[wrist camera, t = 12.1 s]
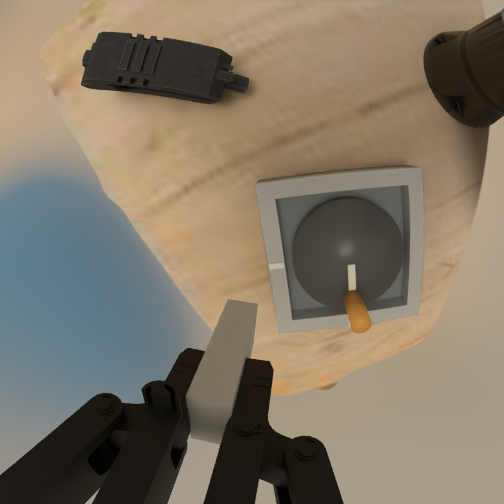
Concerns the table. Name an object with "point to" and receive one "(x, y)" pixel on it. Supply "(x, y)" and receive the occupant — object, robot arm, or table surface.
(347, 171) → the square crank box
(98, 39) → the tool
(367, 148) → the table surface
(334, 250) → the crank dial
